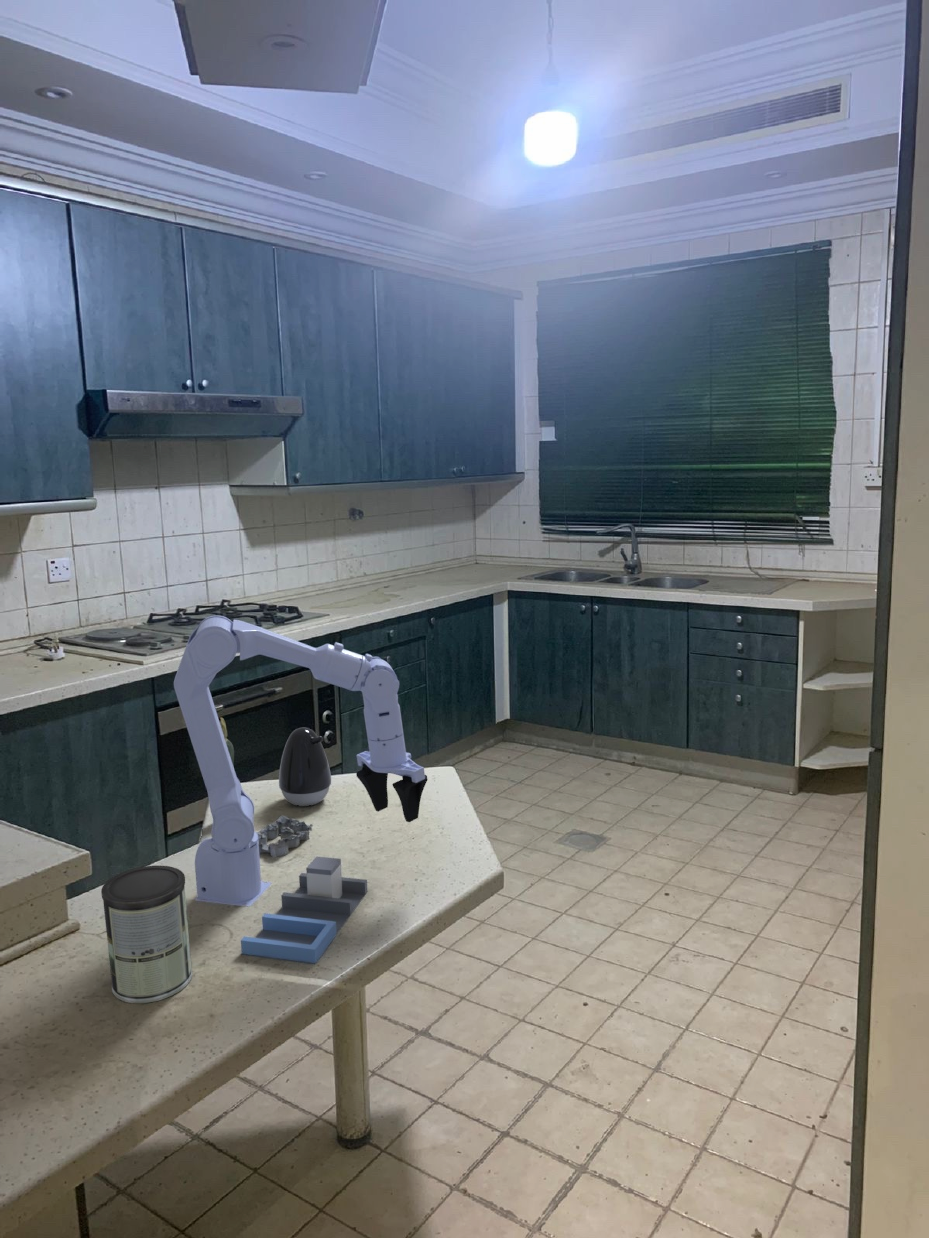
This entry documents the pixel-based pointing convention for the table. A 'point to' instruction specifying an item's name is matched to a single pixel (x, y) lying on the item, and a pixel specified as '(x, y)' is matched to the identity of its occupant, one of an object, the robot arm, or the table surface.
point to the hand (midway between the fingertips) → (396, 814)
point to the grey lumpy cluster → (283, 835)
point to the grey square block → (324, 877)
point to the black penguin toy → (304, 769)
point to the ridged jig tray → (304, 923)
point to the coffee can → (147, 933)
